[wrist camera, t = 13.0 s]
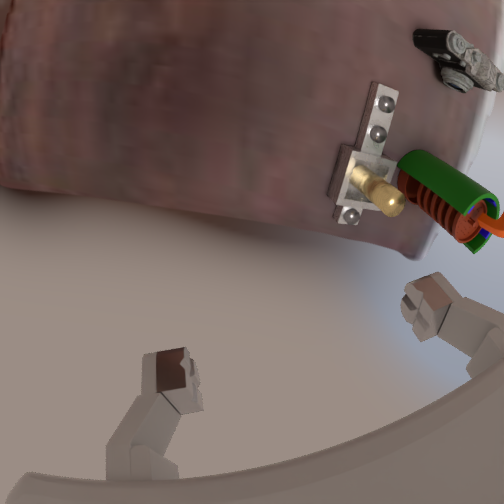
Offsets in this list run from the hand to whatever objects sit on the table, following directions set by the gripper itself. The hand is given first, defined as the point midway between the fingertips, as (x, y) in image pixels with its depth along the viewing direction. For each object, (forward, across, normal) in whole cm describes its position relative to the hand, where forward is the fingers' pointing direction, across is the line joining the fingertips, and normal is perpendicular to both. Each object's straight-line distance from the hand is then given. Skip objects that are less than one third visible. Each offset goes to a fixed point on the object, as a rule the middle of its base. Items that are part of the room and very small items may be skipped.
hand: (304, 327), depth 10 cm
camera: (+31, -36, -7) cm, 48 cm away
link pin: (+30, -19, +10) cm, 37 cm away
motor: (+31, -31, +12) cm, 45 cm away
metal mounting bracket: (+31, -20, +7) cm, 37 cm away
